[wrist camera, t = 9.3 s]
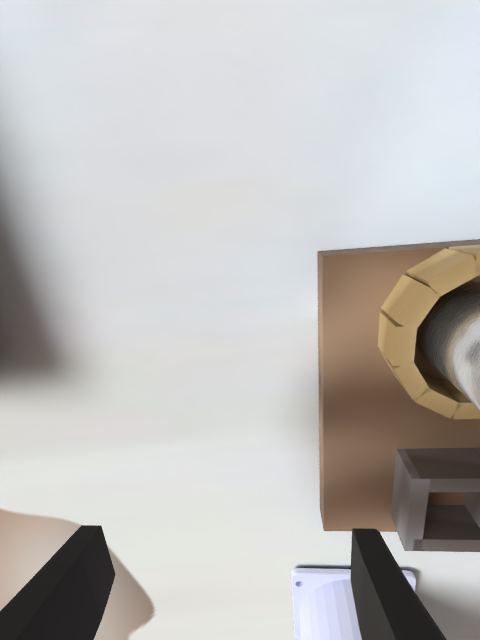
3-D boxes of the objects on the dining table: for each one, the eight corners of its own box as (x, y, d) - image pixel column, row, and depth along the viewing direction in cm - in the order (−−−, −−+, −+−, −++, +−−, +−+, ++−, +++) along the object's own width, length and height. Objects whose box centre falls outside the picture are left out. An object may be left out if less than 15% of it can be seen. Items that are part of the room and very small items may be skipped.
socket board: (526, 509, 20) (579, 571, 16) (320, 508, 21) (329, 565, 18) (597, 230, 14) (695, 238, 11) (317, 251, 16) (330, 263, 12)
